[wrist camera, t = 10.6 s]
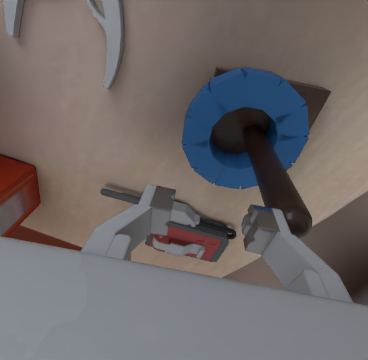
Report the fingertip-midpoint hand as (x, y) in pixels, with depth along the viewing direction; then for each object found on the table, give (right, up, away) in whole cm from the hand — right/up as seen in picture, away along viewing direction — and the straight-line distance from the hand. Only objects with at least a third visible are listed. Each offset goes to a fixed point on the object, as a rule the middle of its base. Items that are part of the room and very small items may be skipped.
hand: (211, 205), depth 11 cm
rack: (+6, +7, +11) cm, 14 cm away
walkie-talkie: (-4, -4, +20) cm, 21 cm away
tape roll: (+4, +6, +9) cm, 12 cm away
